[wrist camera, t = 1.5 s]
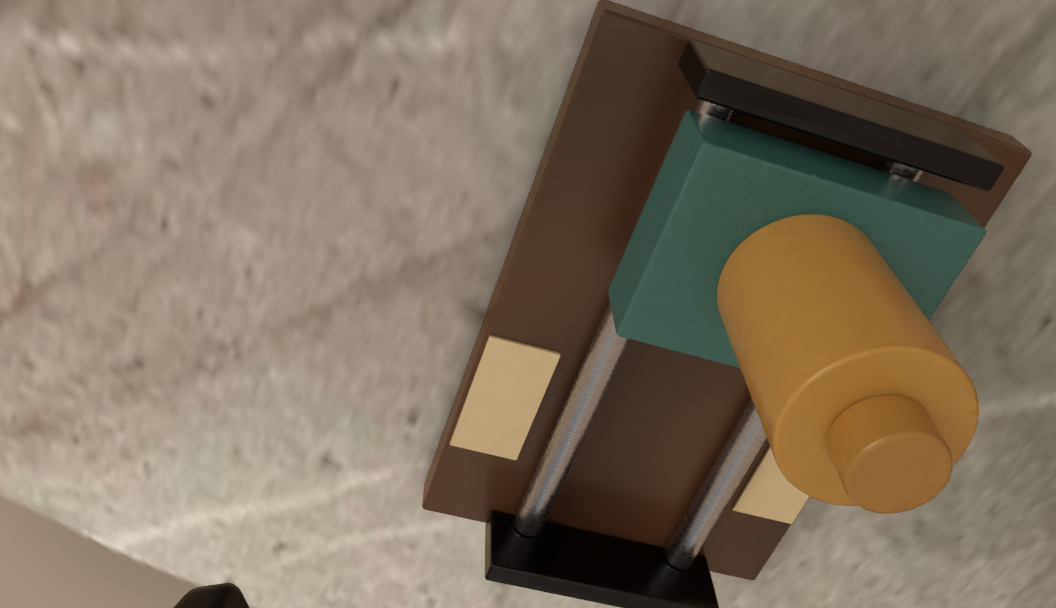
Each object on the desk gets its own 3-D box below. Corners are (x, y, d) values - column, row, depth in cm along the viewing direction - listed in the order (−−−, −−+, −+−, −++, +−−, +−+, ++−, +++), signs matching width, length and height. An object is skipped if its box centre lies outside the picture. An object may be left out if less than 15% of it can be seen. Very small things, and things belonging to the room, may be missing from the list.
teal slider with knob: (950, 191, 19) (1164, 410, 13) (848, 357, 22) (991, 612, 15) (686, 107, 18) (784, 304, 12) (606, 291, 20) (654, 537, 14)
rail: (1013, 135, 21) (1084, 192, 18) (746, 555, 28) (772, 639, 25) (599, -4, 19) (614, 37, 17) (423, 484, 26) (415, 566, 23)
